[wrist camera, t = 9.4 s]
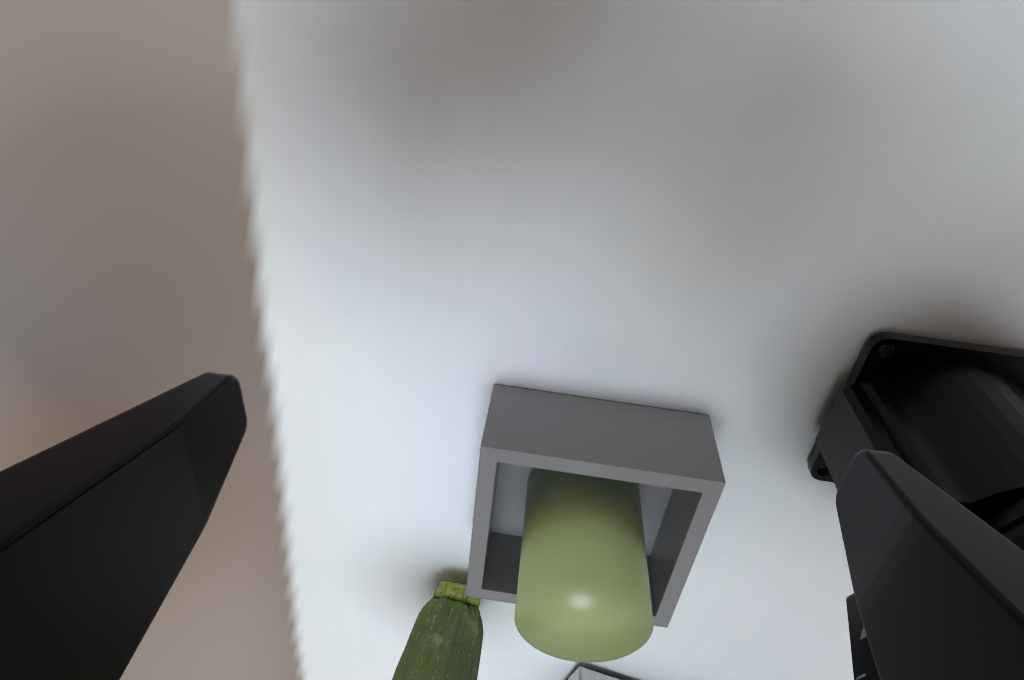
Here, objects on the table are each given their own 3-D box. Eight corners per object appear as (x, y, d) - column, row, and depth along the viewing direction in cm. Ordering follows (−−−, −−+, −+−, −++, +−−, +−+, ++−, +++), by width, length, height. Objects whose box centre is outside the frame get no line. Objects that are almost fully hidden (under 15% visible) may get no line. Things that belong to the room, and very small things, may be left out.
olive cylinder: (649, 454, 24) (667, 590, 19) (627, 531, 27) (637, 670, 22) (533, 439, 24) (521, 570, 19) (522, 517, 27) (508, 652, 22)
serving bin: (708, 415, 24) (725, 483, 21) (659, 555, 28) (667, 627, 25) (493, 384, 24) (480, 446, 21) (478, 528, 28) (465, 595, 26)
